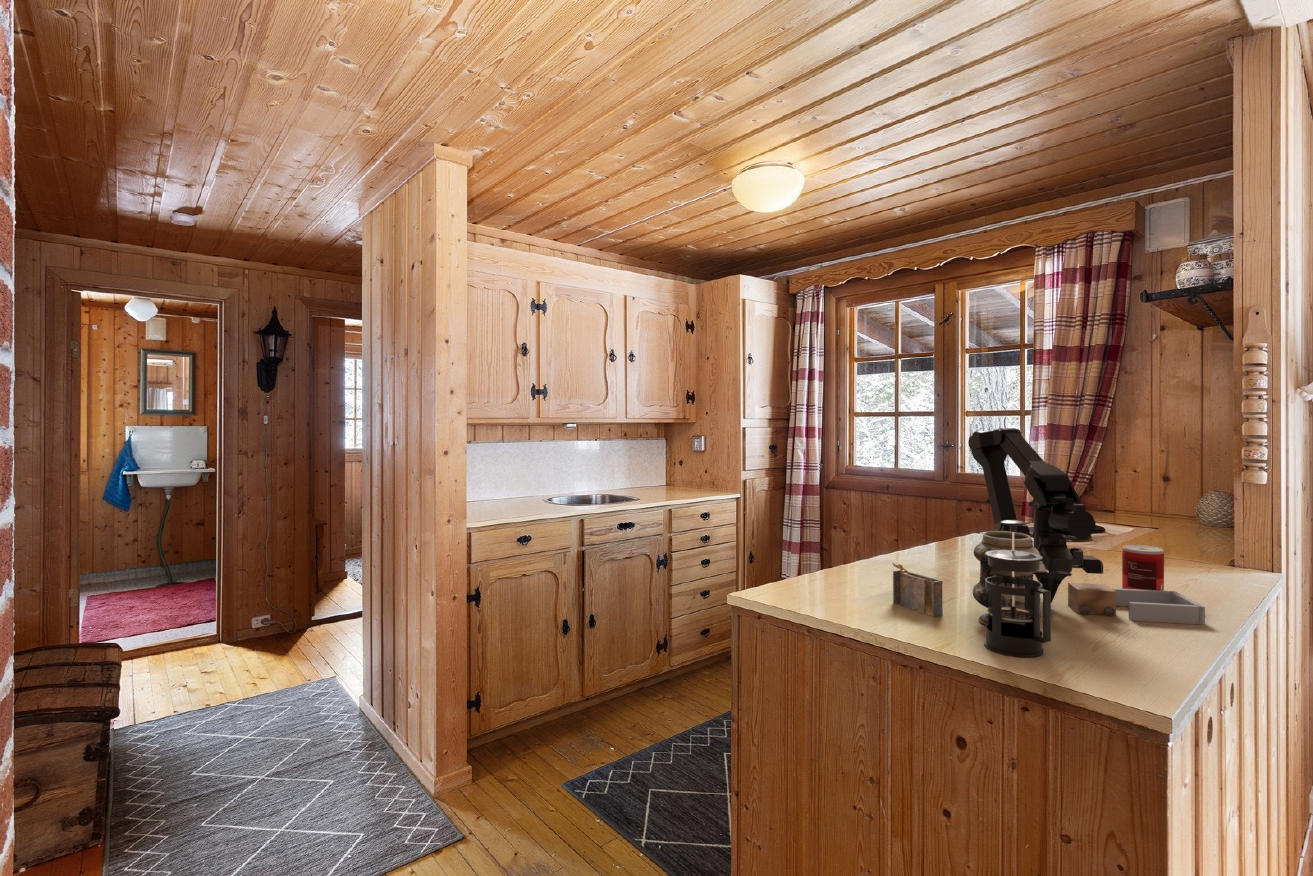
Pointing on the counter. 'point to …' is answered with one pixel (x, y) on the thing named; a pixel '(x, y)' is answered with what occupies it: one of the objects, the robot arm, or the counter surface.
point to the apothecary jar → (998, 542)
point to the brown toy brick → (1092, 598)
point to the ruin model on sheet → (917, 592)
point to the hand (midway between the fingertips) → (1049, 602)
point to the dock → (1160, 606)
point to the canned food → (1142, 567)
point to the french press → (1013, 635)
